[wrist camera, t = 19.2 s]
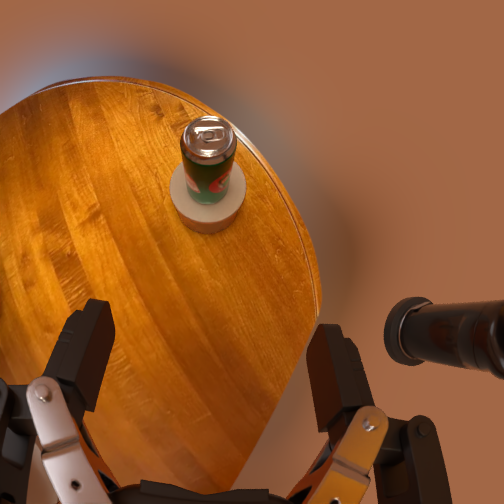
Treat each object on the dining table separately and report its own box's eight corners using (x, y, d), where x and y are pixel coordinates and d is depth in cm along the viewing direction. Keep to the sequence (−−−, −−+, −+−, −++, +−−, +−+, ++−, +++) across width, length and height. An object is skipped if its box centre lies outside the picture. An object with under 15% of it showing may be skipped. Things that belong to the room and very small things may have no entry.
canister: (252, 193, 44) (259, 174, 37) (218, 247, 42) (220, 237, 35) (198, 163, 44) (197, 140, 37) (162, 214, 42) (154, 197, 35)
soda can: (183, 172, 36) (175, 117, 24) (223, 164, 37) (231, 108, 25) (191, 209, 35) (184, 165, 23) (232, 201, 36) (244, 155, 24)
